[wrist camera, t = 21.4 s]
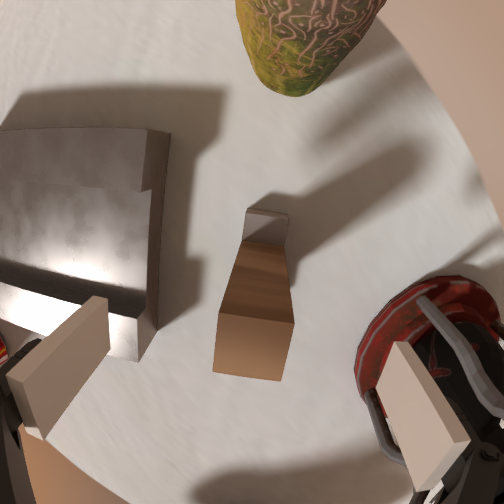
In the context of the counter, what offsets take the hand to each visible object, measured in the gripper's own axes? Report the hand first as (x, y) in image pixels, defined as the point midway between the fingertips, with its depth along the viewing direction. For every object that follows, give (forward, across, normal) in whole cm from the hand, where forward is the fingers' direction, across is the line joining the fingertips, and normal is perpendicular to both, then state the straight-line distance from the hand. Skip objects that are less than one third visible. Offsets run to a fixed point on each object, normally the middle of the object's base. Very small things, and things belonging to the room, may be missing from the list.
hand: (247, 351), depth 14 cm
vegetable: (+12, 0, -16) cm, 20 cm away
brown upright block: (+12, 0, -1) cm, 12 cm away
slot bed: (+12, +18, -1) cm, 22 cm away
